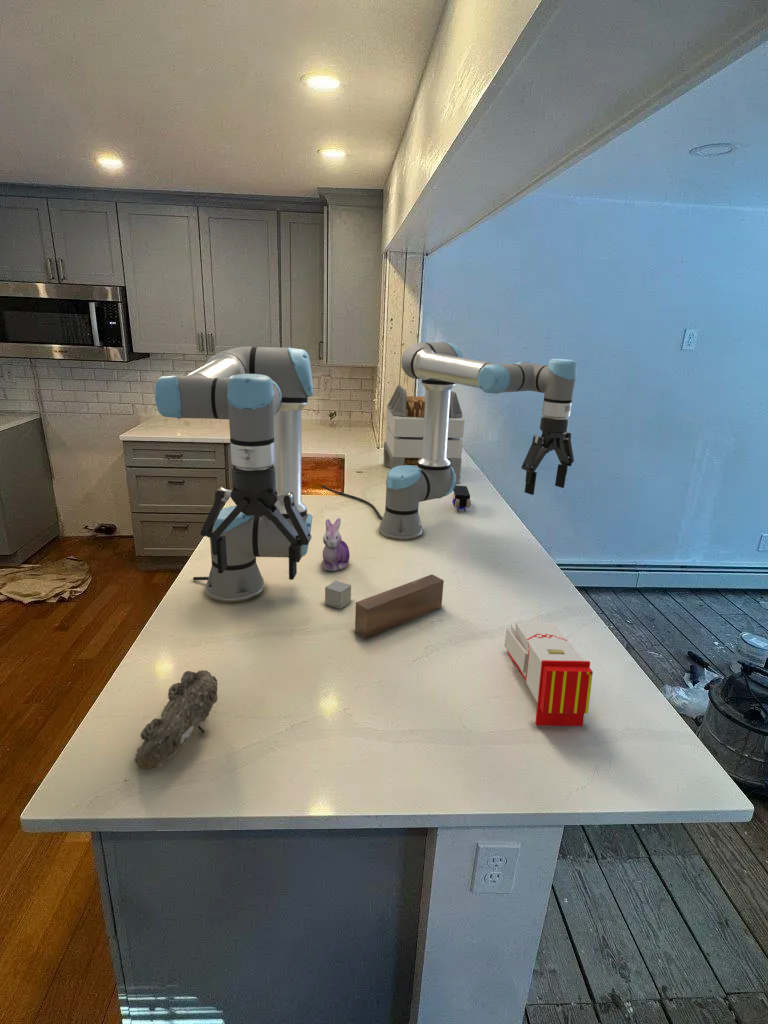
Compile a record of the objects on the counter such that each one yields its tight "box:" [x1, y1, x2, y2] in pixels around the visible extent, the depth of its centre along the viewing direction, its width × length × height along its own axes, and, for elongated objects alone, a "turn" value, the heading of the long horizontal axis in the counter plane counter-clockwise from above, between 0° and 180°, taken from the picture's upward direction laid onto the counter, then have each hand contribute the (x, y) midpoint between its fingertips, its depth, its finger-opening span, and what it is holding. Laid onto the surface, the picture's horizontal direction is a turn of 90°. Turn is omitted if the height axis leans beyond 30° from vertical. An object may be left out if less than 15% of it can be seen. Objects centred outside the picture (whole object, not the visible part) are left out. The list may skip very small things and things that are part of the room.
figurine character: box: [451, 484, 472, 513], centre depth 228 cm, size 7×8×15 cm
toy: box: [503, 622, 594, 727], centre depth 121 cm, size 12×13×30 cm
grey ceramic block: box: [324, 579, 352, 610], centre depth 151 cm, size 5×5×5 cm
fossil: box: [134, 669, 218, 770], centre depth 103 cm, size 22×10×15 cm
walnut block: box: [354, 574, 445, 640], centre depth 144 cm, size 4×26×8 cm, turn 131°
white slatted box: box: [383, 384, 465, 484], centre depth 268 cm, size 34×33×41 cm
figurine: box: [322, 517, 351, 572], centre depth 171 cm, size 9×10×15 cm
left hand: (257, 573), depth 107 cm, fingers open, 13 cm apart
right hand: (544, 490), depth 164 cm, fingers open, 13 cm apart
